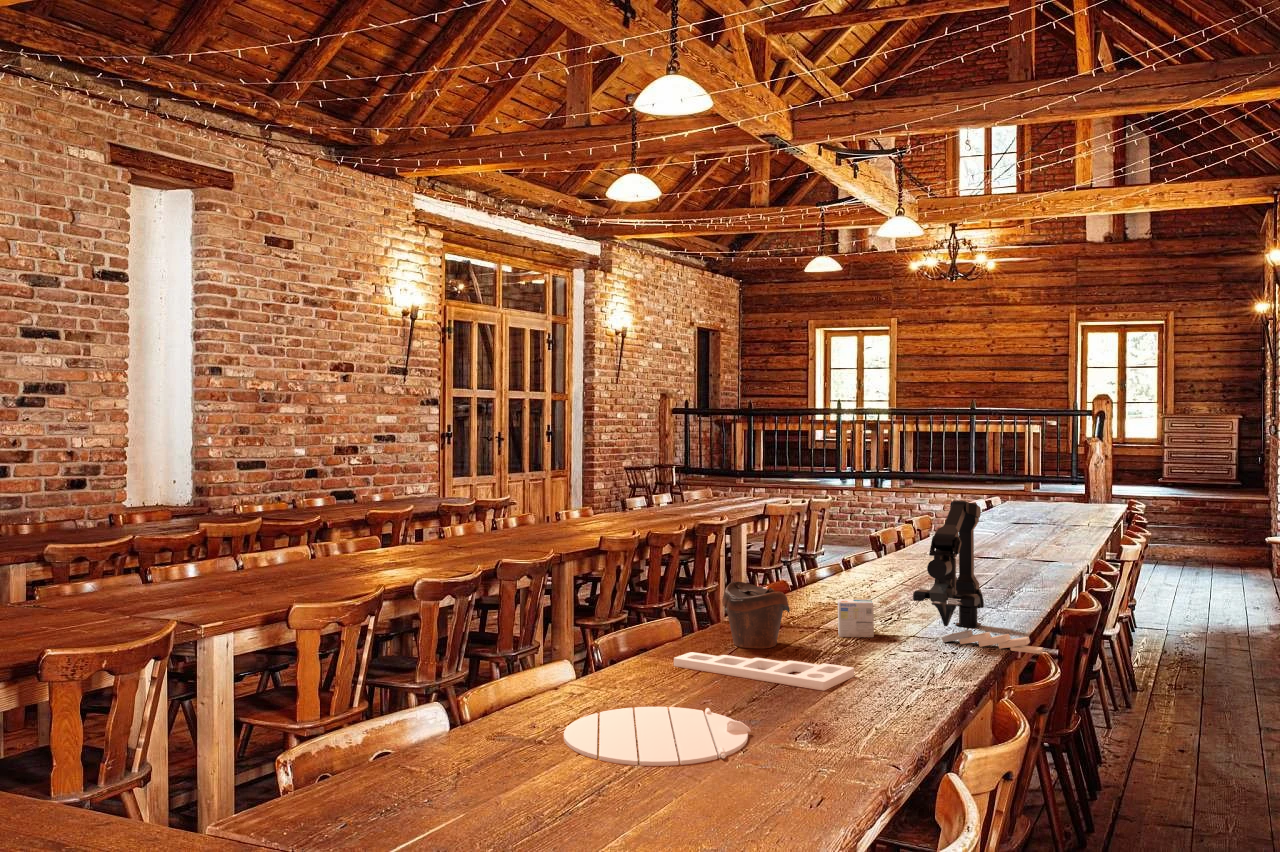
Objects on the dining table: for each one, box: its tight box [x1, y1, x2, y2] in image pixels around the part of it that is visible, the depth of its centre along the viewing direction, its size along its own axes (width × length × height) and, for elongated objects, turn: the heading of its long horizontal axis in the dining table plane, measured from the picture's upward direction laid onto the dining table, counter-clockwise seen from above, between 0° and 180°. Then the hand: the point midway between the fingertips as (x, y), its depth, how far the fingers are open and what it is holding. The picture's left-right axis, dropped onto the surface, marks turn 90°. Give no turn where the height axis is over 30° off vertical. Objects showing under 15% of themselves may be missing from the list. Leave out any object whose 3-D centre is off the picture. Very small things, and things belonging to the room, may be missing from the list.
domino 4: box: [997, 636, 1031, 650], centre depth 312 cm, size 4×2×8 cm
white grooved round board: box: [563, 706, 752, 767], centre depth 230 cm, size 40×39×3 cm
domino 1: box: [941, 629, 974, 643], centre depth 321 cm, size 4×2×8 cm
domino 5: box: [1009, 645, 1044, 655], centre depth 310 cm, size 4×2×8 cm
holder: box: [673, 651, 855, 691], centre depth 287 cm, size 45×18×3 cm, turn 54°
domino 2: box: [958, 631, 992, 645], centre depth 318 cm, size 4×2×8 cm
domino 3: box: [977, 633, 1011, 648], centre depth 315 cm, size 4×2×8 cm
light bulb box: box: [837, 598, 875, 638], centre depth 332 cm, size 11×7×11 cm, turn 84°
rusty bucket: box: [721, 581, 791, 650], centre depth 319 cm, size 18×20×18 cm
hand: (946, 626), depth 323 cm, fingers closed
